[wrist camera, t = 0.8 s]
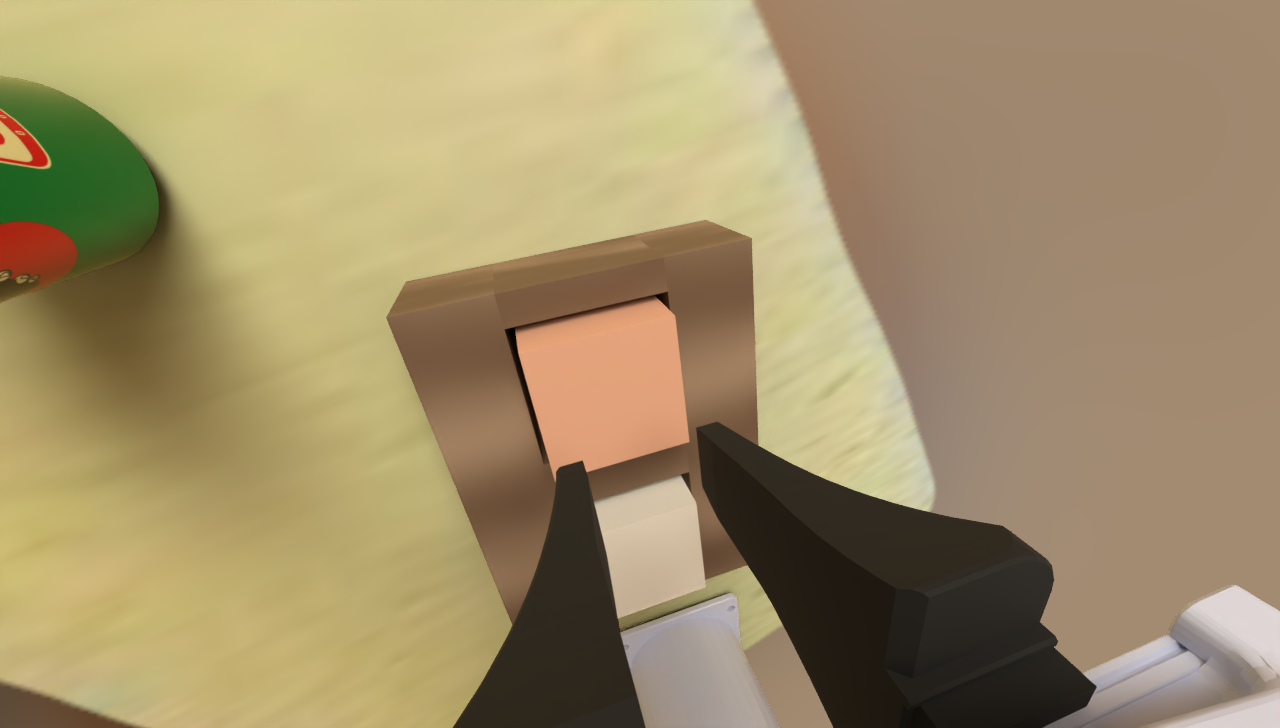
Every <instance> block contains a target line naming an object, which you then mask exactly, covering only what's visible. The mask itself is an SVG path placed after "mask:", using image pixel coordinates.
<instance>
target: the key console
mask: <svg viewBox="0 0 1280 728" xmlns="http://www.w3.org/2000/svg"><path fill="white" fill-rule="evenodd" d="M651 295H654V296H655V297H656V298H657V299H659V300H660V301H661V302H662V303H663V304H664V305H665V306H666V307H667V308H668V309H669V310H670V311H671V312H672V313H673V314H674V315H675V318H676V327H677V336H678V345H679V353H680V362H681V371H682V380H683V389H684V398H685V406H686V415H687V424H688V433H689V442H688V443H684V444H681V445H678V446H674V447H671V448H667V449H664V450H660V451H657V452H654V453H650V454H647V455H643V456H640V457H637V458H633V459H630V460H626V461H623V462H620V463H616V464H613V465H609V466H606V467H603V468H599V469H596V470H592V471H589V472H587V476H588V479H589V483H590V487H591V492H592V496H593V500H594V501H596V500H599V499H602V498H606V497H609V496H612V495H615V494H619V493H622V492H625V491H628V490H632V489H635V488H638V487H641V486H645V485H648V484H651V483H655V482H658V481H661V480H664V479H668V478H671V477H674V476H677V475H681V477H682V478H683V480H684V482H685V484H686V485H687V487H688V489H689V491H690V493H691V494H692V496H693V498H694V500H695V501H696V504H697V512H698V521H699V530H700V539H701V548H702V556H703V565H704V574H705V580H706V579H709V578H711V577H714V576H717V575H720V574H723V573H726V572H728V571H731V570H734V569H737V568H740V567H743V566H746V565H747V563H746V562H745V560H744V559H743V557H742V556H741V554H740V552H739V551H738V549H737V548H736V546H735V545H734V543H733V542H732V540H731V539H730V537H729V536H728V534H727V532H726V531H725V529H724V528H723V526H722V525H721V523H720V521H719V520H718V518H717V516H716V514H715V512H714V510H713V508H712V506H711V504H710V502H709V500H708V498H707V496H706V494H705V491H704V489H703V487H702V480H701V471H700V461H699V451H698V442H697V432H696V427H700V426H703V425H707V424H710V423H714V422H719V423H721V424H723V425H724V426H726V427H728V428H729V429H731V430H733V431H734V432H736V433H738V434H739V435H741V436H743V437H744V438H746V439H748V440H749V441H751V442H753V443H754V444H756V445H758V421H757V390H756V359H755V327H754V296H753V265H752V238H750V237H747V236H745V235H742V234H740V233H737V232H735V231H732V230H730V229H727V228H725V227H722V226H720V225H717V224H715V223H712V222H710V221H707V220H704V221H699V222H695V223H690V224H685V225H680V226H675V227H670V228H665V229H661V230H656V231H651V232H646V233H641V234H636V235H632V236H627V237H622V238H617V239H612V240H607V241H602V242H598V243H593V244H588V245H583V246H578V247H573V248H568V249H564V250H559V251H554V252H549V253H544V254H539V255H535V256H530V257H525V258H520V259H515V260H510V261H505V262H501V263H496V264H491V265H486V266H481V267H476V268H472V269H467V270H462V271H457V272H452V273H447V274H442V275H438V276H433V277H428V278H423V279H418V280H413V281H408V282H406V283H405V285H404V286H403V288H402V290H401V292H400V294H399V296H398V297H397V299H396V301H395V303H394V305H393V306H392V308H391V310H390V312H389V314H388V315H387V317H386V318H387V321H388V323H389V325H390V328H391V330H392V333H393V335H394V338H395V340H396V343H397V345H398V347H399V350H400V352H401V355H402V357H403V360H404V362H405V364H406V367H407V369H408V372H409V374H410V377H411V379H412V381H413V384H414V386H415V389H416V391H417V394H418V396H419V398H420V401H421V403H422V406H423V408H424V411H425V413H426V415H427V418H428V420H429V423H430V425H431V428H432V430H433V433H434V435H435V437H436V440H437V442H438V445H439V447H440V450H441V452H442V454H443V457H444V459H445V462H446V464H447V467H448V469H449V471H450V474H451V476H452V479H453V481H454V484H455V486H456V488H457V491H458V493H459V496H460V498H461V501H462V503H463V505H464V508H465V510H466V513H467V515H468V518H469V520H470V522H471V525H472V527H473V530H474V532H475V535H476V537H477V540H478V542H479V544H480V547H481V549H482V552H483V554H484V557H485V559H486V561H487V564H488V566H489V569H490V571H491V574H492V576H493V578H494V581H495V583H496V586H497V588H498V591H499V593H500V595H501V598H502V600H503V603H504V605H505V608H506V610H507V612H508V615H509V617H510V620H511V622H512V625H513V624H514V622H515V619H516V617H517V615H518V613H519V610H520V608H521V606H522V604H523V602H524V599H525V597H526V595H527V592H528V589H529V587H530V584H531V582H532V579H533V577H534V574H535V571H536V568H537V565H538V562H539V559H540V556H541V552H542V549H543V545H544V542H545V539H546V535H547V531H548V527H549V523H550V518H551V513H552V509H553V503H554V497H555V489H556V481H555V480H554V476H553V473H552V469H551V466H550V462H549V459H548V455H547V452H546V448H545V445H544V441H543V438H542V434H541V431H540V427H539V424H538V420H537V417H536V413H535V410H534V406H533V403H532V399H531V396H530V392H529V389H528V385H527V382H526V378H525V375H524V371H523V368H522V364H521V361H520V357H519V354H518V350H517V347H516V343H515V340H514V336H513V333H512V329H511V328H512V327H517V326H521V325H525V324H530V323H534V322H538V321H543V320H547V319H551V318H556V317H560V316H564V315H568V314H573V313H577V312H581V311H586V310H590V309H594V308H599V307H603V306H607V305H612V304H616V303H620V302H625V301H629V300H633V299H638V298H642V297H646V296H651Z"/></svg>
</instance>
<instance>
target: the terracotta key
mask: <svg viewBox="0 0 1280 728" xmlns="http://www.w3.org/2000/svg"><path fill="white" fill-rule="evenodd" d="M515 332H516V339H517V347H518V354H519V357H520V361H521V364H522V368H523V371H524V375H525V378H526V382H527V385H528V389H529V392H530V396H531V399H532V403H533V406H534V410H535V413H536V417H537V420H538V424H539V427H540V431H541V434H542V438H543V441H544V445H545V448H546V452H547V455H548V459H549V462H550V466H551V469H552V473H553V476H554V480H555V481H556V471H557V470H558V468H559V467H561V466H565V465H568V464H572V463H575V462H579V461H582V460H583V463H584V466H585V469H586V472H589V471H592V470H596V469H599V468H603V467H606V466H609V465H613V464H616V463H620V462H623V461H626V460H630V459H633V458H637V457H640V456H643V455H647V454H650V453H654V452H657V451H660V450H664V449H667V448H671V447H674V446H678V445H681V444H684V443H688V442H689V433H688V424H687V415H686V406H685V398H684V389H683V380H682V371H681V362H680V353H679V345H678V336H677V327H676V318H675V315H674V314H673V313H672V312H671V311H670V310H669V309H668V308H667V307H666V306H665V305H664V304H663V303H662V302H661V301H660V300H659V299H657V298H656V297H655V296H654V295H651V296H646V297H642V298H638V299H633V300H629V301H625V302H620V303H616V304H612V305H607V306H603V307H599V308H594V309H590V310H586V311H581V312H577V313H573V314H568V315H564V316H560V317H556V318H551V319H547V320H543V321H538V322H534V323H530V324H525V325H521V326H517V327H515Z"/></svg>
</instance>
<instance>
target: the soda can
mask: <svg viewBox="0 0 1280 728" xmlns="http://www.w3.org/2000/svg"><path fill="white" fill-rule="evenodd" d="M158 215H159V200H158V192H157V189H156V185H155V182H154V179H153V177H152V175H151V172H150V170H149V168H148V166H147V164H146V163H145V161H144V160H143V158H142V156H141V155H140V153H139V152H138V150H137V149H136V148H135V147H134V146H133V144H132V143H131V142H130V141H129V140H128V139H127V137H126V136H125V135H124V134H123V133H122V132H121V131H119V130H118V129H117V128H116V127H115V126H114V125H113V124H112V123H111V122H110V121H108V120H107V119H106V118H104V117H103V116H102V115H100V114H99V113H98V112H96V111H95V110H93V109H92V108H90V107H88V106H87V105H85V104H84V103H82V102H80V101H79V100H77V99H75V98H73V97H71V96H69V95H67V94H64V93H62V92H60V91H58V90H56V89H53V88H50V87H47V86H44V85H41V84H39V83H35V82H31V81H27V80H22V79H18V78H11V77H3V76H0V303H2V302H5V301H8V300H11V299H14V298H17V297H20V296H23V295H25V294H28V293H31V292H34V291H37V290H40V289H43V288H45V287H48V286H51V285H54V284H57V283H60V282H63V281H66V280H68V279H71V278H74V277H77V276H80V275H83V274H86V273H88V272H91V271H94V270H97V269H100V268H103V267H106V266H109V265H111V264H114V263H117V262H119V261H122V260H124V259H126V258H129V257H130V256H132V255H133V254H135V253H136V252H137V251H139V250H140V249H141V248H142V247H143V246H144V245H145V244H146V243H147V242H148V240H149V239H150V237H151V236H152V234H153V232H154V230H155V227H156V224H157V221H158Z"/></svg>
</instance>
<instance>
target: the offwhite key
mask: <svg viewBox="0 0 1280 728" xmlns="http://www.w3.org/2000/svg"><path fill="white" fill-rule="evenodd" d="M594 504H595V508H596V512H597V516H598V520H599V524H600V529H601V533H602V537H603V541H604V545H605V549H606V553H607V558H608V564H609V570H610V576H611V581H612V587H613V593H614V599H615V605H616V611H617V616H618V618H621V617H624V616H627V615H630V614H632V613H635V612H638V611H641V610H644V609H647V608H649V607H652V606H655V605H658V604H661V603H663V602H666V601H669V600H672V599H675V598H678V597H680V596H683V595H686V594H689V593H692V592H695V591H697V590H700V589H703V588H706V583H705V574H704V565H703V556H702V548H701V539H700V530H699V521H698V512H697V504H696V501H695V500H694V498H693V496H692V494H691V493H690V491H689V489H688V487H687V485H686V484H685V482H684V480H683V478H682V477H681V475H677V476H674V477H671V478H668V479H664V480H661V481H658V482H655V483H651V484H648V485H645V486H641V487H638V488H635V489H632V490H628V491H625V492H622V493H619V494H615V495H612V496H609V497H606V498H602V499H599V500H596V501H594Z"/></svg>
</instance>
